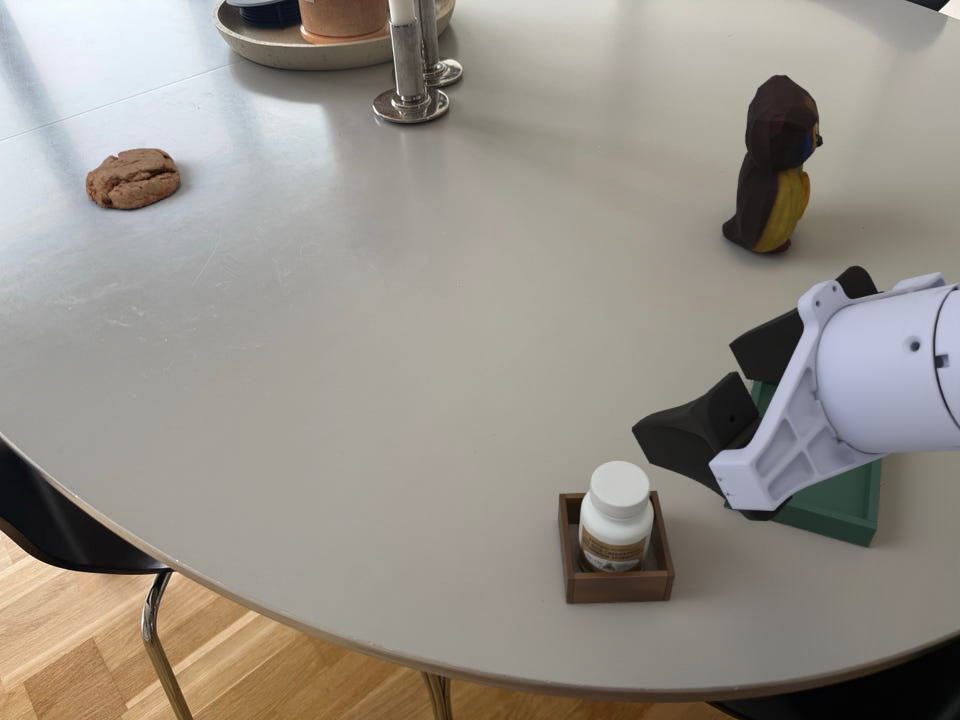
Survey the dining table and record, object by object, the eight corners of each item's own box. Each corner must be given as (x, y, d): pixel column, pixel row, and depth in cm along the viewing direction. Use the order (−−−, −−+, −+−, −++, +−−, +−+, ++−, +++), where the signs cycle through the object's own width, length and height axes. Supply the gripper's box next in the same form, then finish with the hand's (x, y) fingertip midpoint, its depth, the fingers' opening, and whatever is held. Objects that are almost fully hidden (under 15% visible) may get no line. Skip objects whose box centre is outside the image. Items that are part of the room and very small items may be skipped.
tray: (868, 548, 53) (877, 529, 51) (723, 506, 55) (728, 488, 54) (878, 409, 62) (886, 390, 60) (753, 380, 64) (758, 361, 63)
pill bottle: (574, 583, 52) (580, 508, 46) (579, 526, 55) (585, 450, 49) (644, 592, 51) (658, 517, 46) (646, 533, 54) (659, 457, 49)
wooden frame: (652, 516, 55) (657, 490, 53) (669, 601, 50) (675, 575, 49) (557, 519, 55) (559, 493, 53) (566, 603, 51) (567, 578, 49)
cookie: (184, 157, 95) (177, 133, 92) (180, 204, 87) (172, 179, 85) (95, 169, 93) (85, 145, 91) (83, 218, 85) (72, 193, 83)
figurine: (795, 276, 74) (838, 122, 64) (716, 266, 75) (746, 113, 65) (795, 218, 81) (835, 71, 71) (723, 210, 82) (751, 64, 72)
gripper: (1025, 172, 30) (744, 258, 42) (819, 372, 23) (552, 408, 35) (1097, 337, 31) (804, 376, 43) (921, 574, 24) (629, 543, 36)
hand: (695, 398), depth 39 cm, fingers open, 7 cm apart
